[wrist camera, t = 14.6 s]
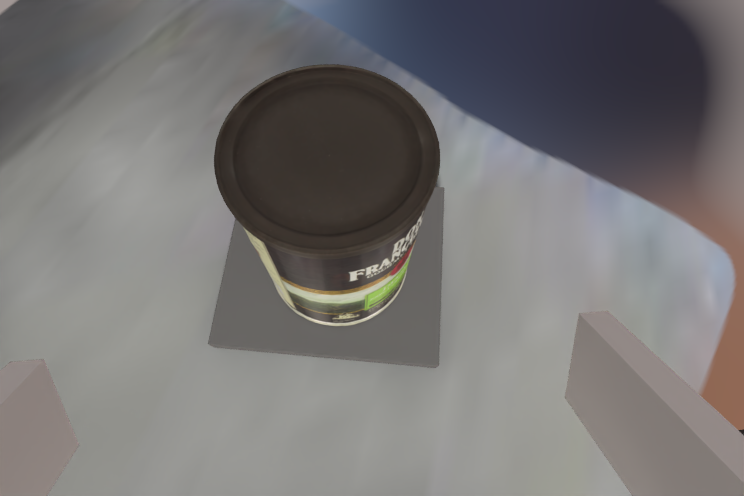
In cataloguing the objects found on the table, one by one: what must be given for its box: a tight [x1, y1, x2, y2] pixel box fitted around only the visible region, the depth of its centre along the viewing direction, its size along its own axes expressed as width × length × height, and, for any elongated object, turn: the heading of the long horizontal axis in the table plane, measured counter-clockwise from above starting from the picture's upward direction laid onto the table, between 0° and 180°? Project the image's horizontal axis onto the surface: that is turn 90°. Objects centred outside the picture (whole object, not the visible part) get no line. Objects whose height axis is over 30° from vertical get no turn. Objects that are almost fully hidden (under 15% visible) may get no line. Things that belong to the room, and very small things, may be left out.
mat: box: [208, 187, 444, 368], centre depth 34 cm, size 16×14×2 cm
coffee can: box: [214, 64, 440, 326], centre depth 27 cm, size 10×10×14 cm
